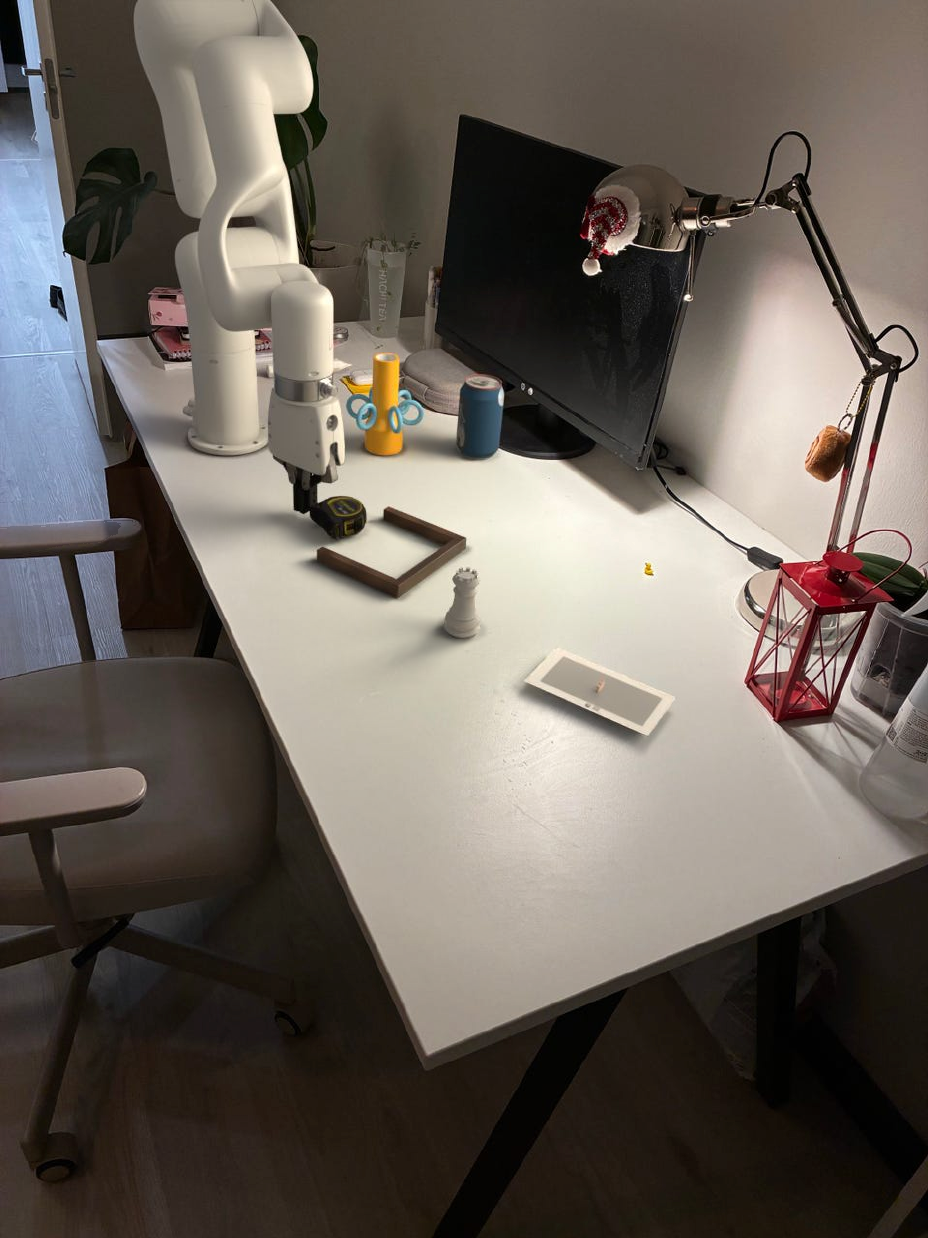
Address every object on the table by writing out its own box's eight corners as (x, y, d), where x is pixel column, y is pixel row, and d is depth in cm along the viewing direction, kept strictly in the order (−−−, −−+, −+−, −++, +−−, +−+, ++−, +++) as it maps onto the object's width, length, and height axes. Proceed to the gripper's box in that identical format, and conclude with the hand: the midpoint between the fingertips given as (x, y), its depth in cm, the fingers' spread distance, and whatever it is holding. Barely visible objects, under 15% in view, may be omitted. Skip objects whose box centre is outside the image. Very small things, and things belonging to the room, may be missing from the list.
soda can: (506, 451, 157) (513, 380, 150) (483, 465, 152) (490, 393, 145) (470, 438, 160) (476, 368, 153) (447, 452, 155) (452, 381, 148)
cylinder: (425, 438, 159) (430, 349, 150) (416, 466, 150) (421, 374, 142) (352, 430, 159) (353, 341, 151) (339, 457, 151) (339, 364, 142)
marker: (353, 373, 181) (268, 379, 175) (350, 364, 182) (265, 370, 176) (355, 364, 179) (269, 370, 173) (352, 355, 180) (267, 360, 174)
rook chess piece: (485, 623, 118) (491, 568, 113) (473, 643, 114) (479, 587, 109) (450, 614, 119) (455, 559, 114) (437, 634, 115) (442, 577, 110)
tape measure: (307, 524, 134) (306, 500, 132) (351, 513, 137) (351, 489, 135) (330, 547, 129) (330, 523, 127) (375, 535, 133) (375, 511, 130)
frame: (316, 561, 126) (316, 549, 125) (388, 517, 137) (388, 506, 136) (397, 598, 121) (398, 586, 120) (465, 548, 131) (466, 537, 130)
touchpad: (555, 654, 114) (557, 639, 112) (674, 705, 108) (678, 690, 106) (522, 688, 108) (524, 673, 107) (646, 743, 102) (649, 728, 101)
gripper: (367, 392, 123) (364, 517, 134) (280, 359, 129) (284, 481, 140) (328, 409, 118) (329, 538, 129) (239, 375, 124) (247, 500, 135)
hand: (305, 508), depth 134 cm, fingers closed
